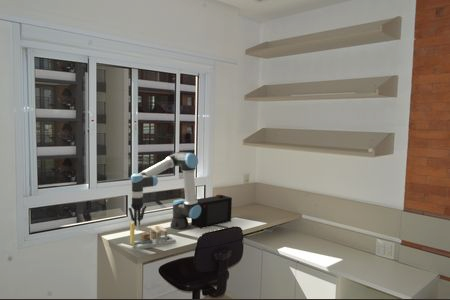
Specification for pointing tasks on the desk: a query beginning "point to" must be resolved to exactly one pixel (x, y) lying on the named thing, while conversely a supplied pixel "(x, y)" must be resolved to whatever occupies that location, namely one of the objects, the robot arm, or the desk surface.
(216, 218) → the speaker
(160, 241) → the deck
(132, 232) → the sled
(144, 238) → the block
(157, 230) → the tunnel
